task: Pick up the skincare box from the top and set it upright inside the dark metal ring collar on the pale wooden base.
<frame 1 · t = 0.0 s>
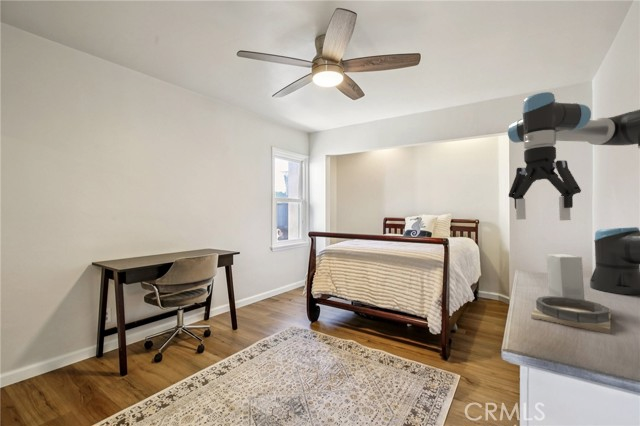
hand: (541, 219, 86), 28 cm above the cabinet, tool pointing down, fingers open, 13 cm apart
collar: (570, 317, 83), on the cabinet
skincare box: (565, 302, 96), on the cabinet
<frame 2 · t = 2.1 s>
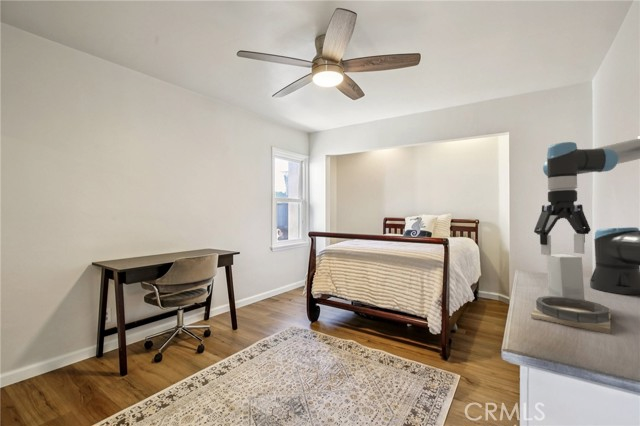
hand: (562, 254, 96), 16 cm above the cabinet, tool pointing down, fingers open, 13 cm apart
nothing on the cabinet moved.
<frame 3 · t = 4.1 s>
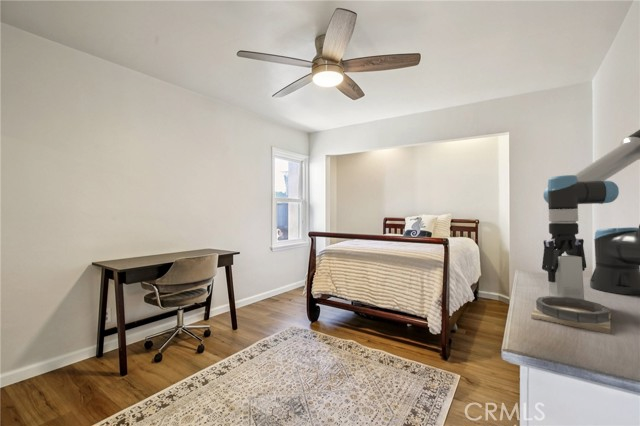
hand: (564, 290, 96), 4 cm above the cabinet, tool pointing down, fingers closed on skincare box, 8 cm apart
skincare box: (564, 302, 96), on the cabinet, touching gripper
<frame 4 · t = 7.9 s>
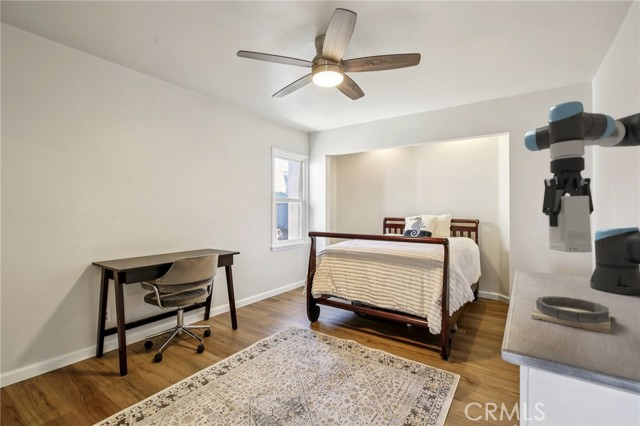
hand: (568, 237, 83), 23 cm above the cabinet, tool pointing down, fingers closed on skincare box, 8 cm apart
skincare box: (568, 251, 83), point 19 cm above the cabinet, touching gripper
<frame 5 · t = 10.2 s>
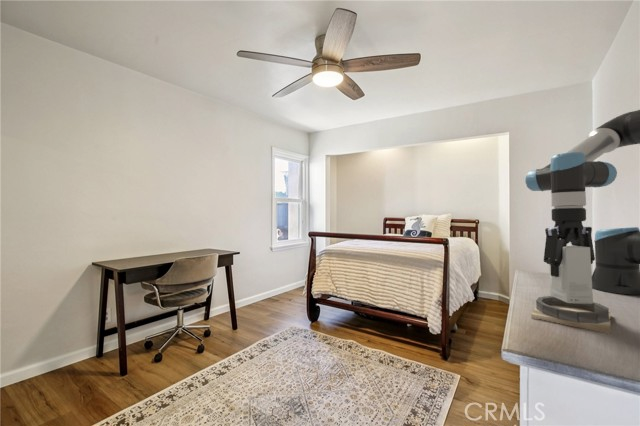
hand: (569, 286, 83), 9 cm above the cabinet, tool pointing down, fingers closed on skincare box, 8 cm apart
skincare box: (569, 300, 83), point 5 cm above the cabinet, touching gripper
when the fingers open (6 cm above the cabinet, at t = 12.0 s): skincare box drops 1 cm, resting on collar.
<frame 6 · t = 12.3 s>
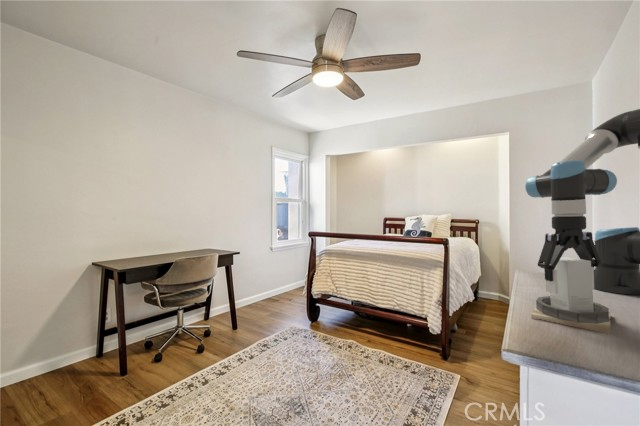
hand: (570, 290, 83), 8 cm above the cabinet, tool pointing down, fingers open, 12 cm apart
skincare box: (570, 313, 83), point 1 cm above the cabinet, touching collar
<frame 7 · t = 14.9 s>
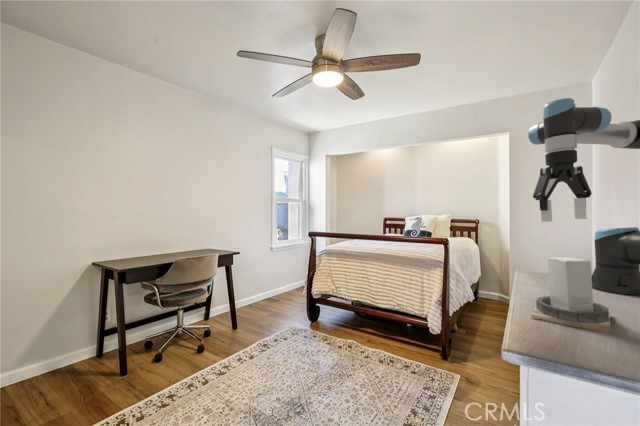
hand: (563, 220, 89), 28 cm above the cabinet, tool pointing down, fingers open, 13 cm apart
nothing on the cabinet moved.
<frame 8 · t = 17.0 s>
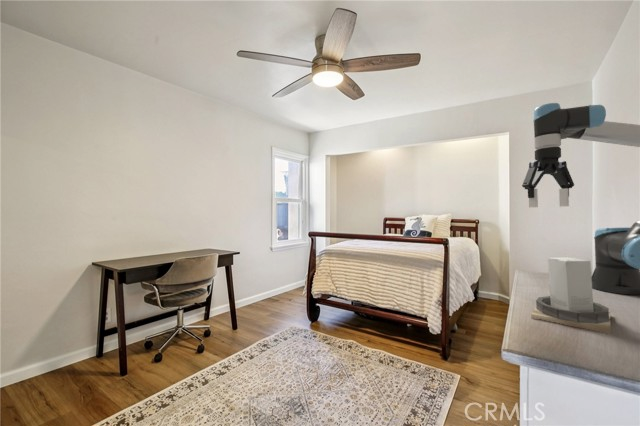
hand: (549, 207, 105), 32 cm above the cabinet, tool pointing down, fingers open, 13 cm apart
nothing on the cabinet moved.
at the end: skincare box 0.1 cm off-centre on the collar, point 1.0 cm above the collar's base; skincare box tilted 0°; the gripper is holding nothing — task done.
